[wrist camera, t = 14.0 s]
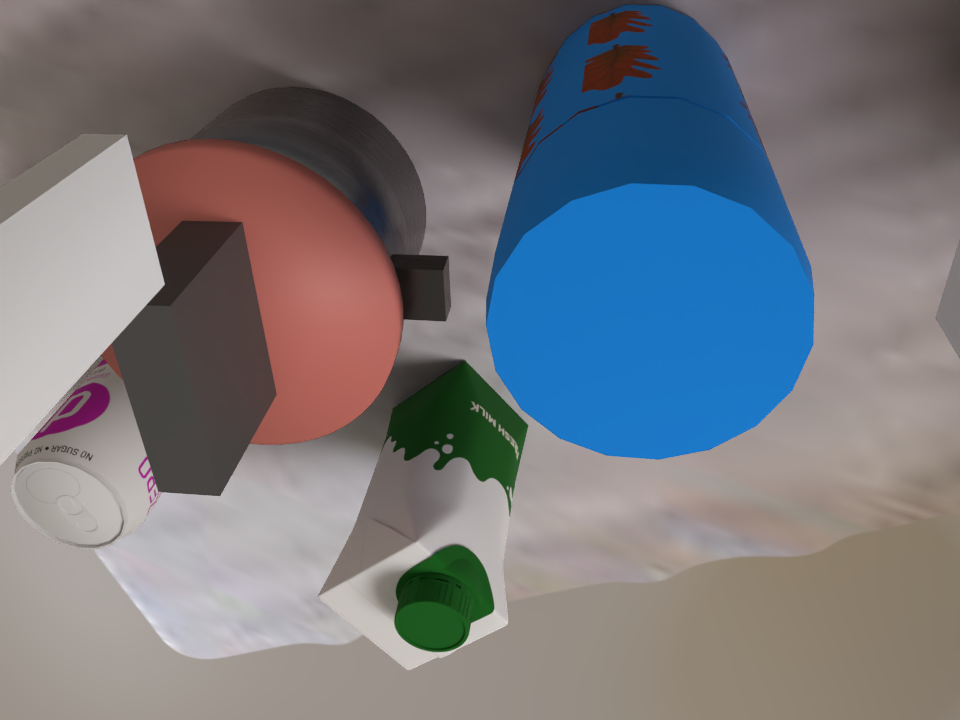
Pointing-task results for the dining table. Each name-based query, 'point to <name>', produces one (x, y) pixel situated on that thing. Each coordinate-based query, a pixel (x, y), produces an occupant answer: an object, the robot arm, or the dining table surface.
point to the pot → (350, 176)
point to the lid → (251, 311)
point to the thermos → (647, 249)
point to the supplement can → (87, 468)
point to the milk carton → (433, 524)
